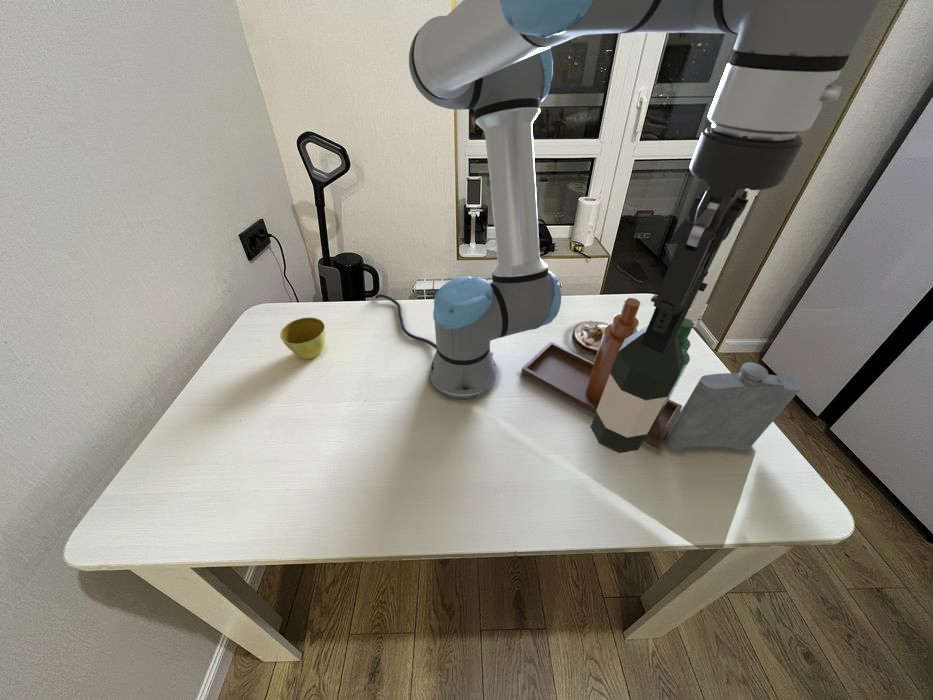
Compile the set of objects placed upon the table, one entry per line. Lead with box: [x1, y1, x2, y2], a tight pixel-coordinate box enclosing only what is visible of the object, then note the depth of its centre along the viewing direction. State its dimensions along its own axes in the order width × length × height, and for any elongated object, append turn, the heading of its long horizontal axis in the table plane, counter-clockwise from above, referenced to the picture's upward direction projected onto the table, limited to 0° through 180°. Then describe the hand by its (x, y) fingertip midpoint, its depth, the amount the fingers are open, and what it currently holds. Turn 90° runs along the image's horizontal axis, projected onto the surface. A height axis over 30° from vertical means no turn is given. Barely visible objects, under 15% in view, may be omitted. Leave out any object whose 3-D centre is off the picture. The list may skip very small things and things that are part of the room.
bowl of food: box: [571, 320, 609, 356], centre depth 95 cm, size 15×15×4 cm
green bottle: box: [652, 317, 695, 425], centre depth 70 cm, size 6×6×24 cm
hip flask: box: [665, 361, 802, 451], centre depth 67 cm, size 16×4×20 cm, turn 88°
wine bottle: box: [590, 266, 706, 454], centre depth 51 cm, size 8×8×30 cm
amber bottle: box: [586, 297, 641, 403], centre depth 75 cm, size 6×6×24 cm
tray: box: [520, 341, 683, 450], centre depth 83 cm, size 32×13×2 cm, turn 49°
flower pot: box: [279, 316, 326, 360], centre depth 92 cm, size 10×10×7 cm
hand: (658, 339), depth 48 cm, fingers closed on wine bottle, 3 cm apart
